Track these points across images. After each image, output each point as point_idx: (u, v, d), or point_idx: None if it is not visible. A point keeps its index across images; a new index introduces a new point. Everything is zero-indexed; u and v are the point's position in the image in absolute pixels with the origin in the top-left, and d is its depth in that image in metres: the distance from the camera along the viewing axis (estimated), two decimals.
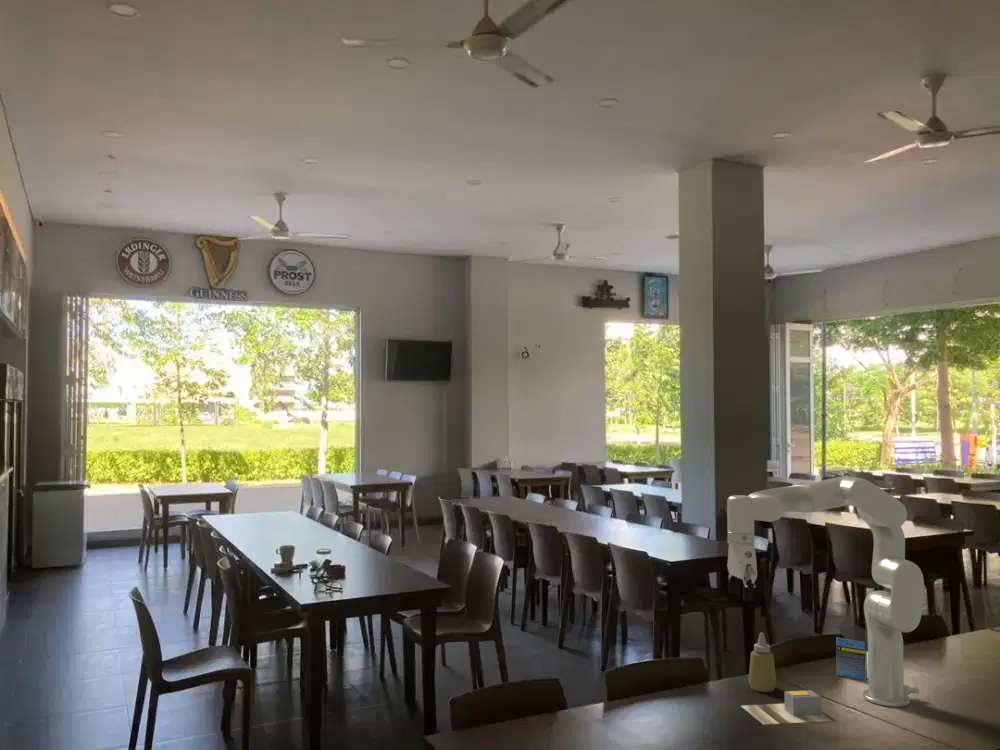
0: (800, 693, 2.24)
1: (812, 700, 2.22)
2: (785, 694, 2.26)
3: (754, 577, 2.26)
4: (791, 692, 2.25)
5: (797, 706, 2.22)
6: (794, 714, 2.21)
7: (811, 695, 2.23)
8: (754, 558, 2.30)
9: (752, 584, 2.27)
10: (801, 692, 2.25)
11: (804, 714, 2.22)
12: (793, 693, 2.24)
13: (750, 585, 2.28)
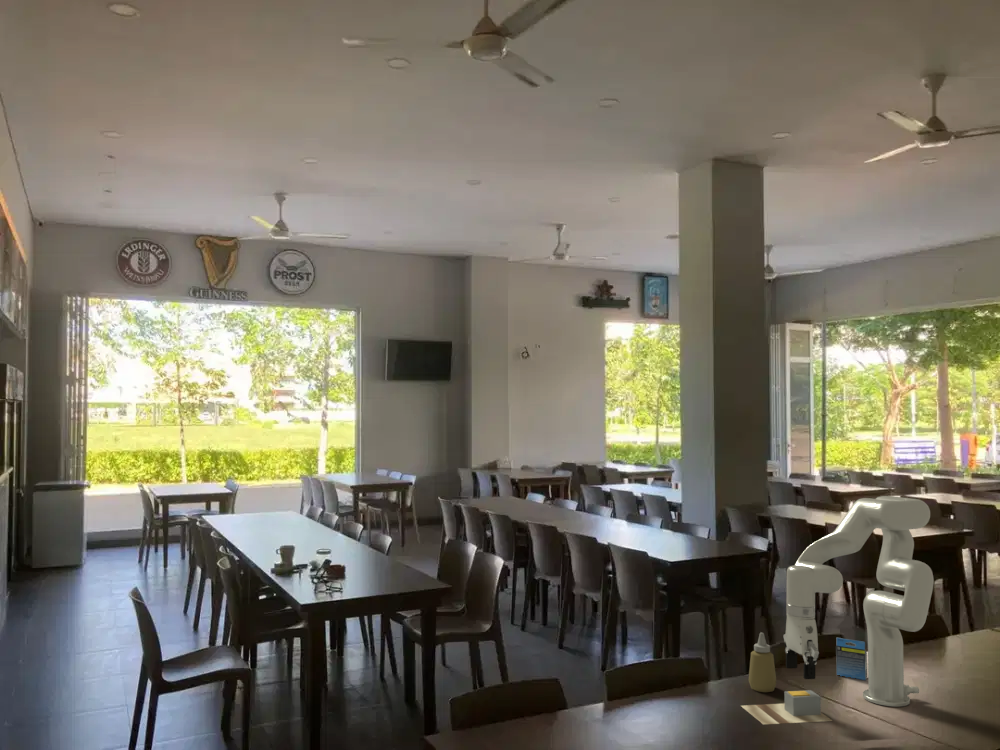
0: (800, 693, 2.24)
1: (812, 700, 2.22)
2: (785, 694, 2.26)
3: (816, 654, 2.17)
4: (791, 692, 2.25)
5: (797, 706, 2.22)
6: (794, 714, 2.21)
7: (811, 695, 2.23)
8: (815, 633, 2.21)
9: (813, 661, 2.18)
10: (801, 692, 2.25)
11: (804, 714, 2.22)
12: (793, 693, 2.24)
13: (811, 662, 2.18)
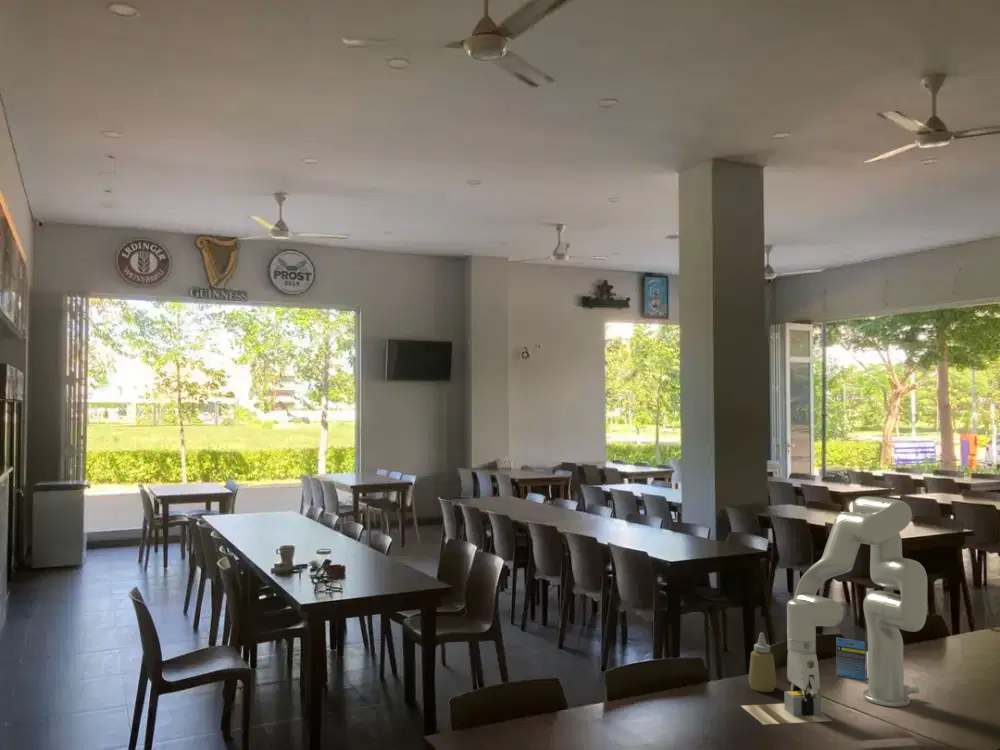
0: (800, 693, 2.24)
1: None
2: (785, 694, 2.26)
3: (815, 694, 2.18)
4: (791, 692, 2.25)
5: (797, 706, 2.22)
6: (794, 714, 2.21)
7: None
8: (816, 668, 2.21)
9: (811, 698, 2.20)
10: (801, 692, 2.25)
11: None
12: (793, 693, 2.24)
13: (809, 699, 2.20)
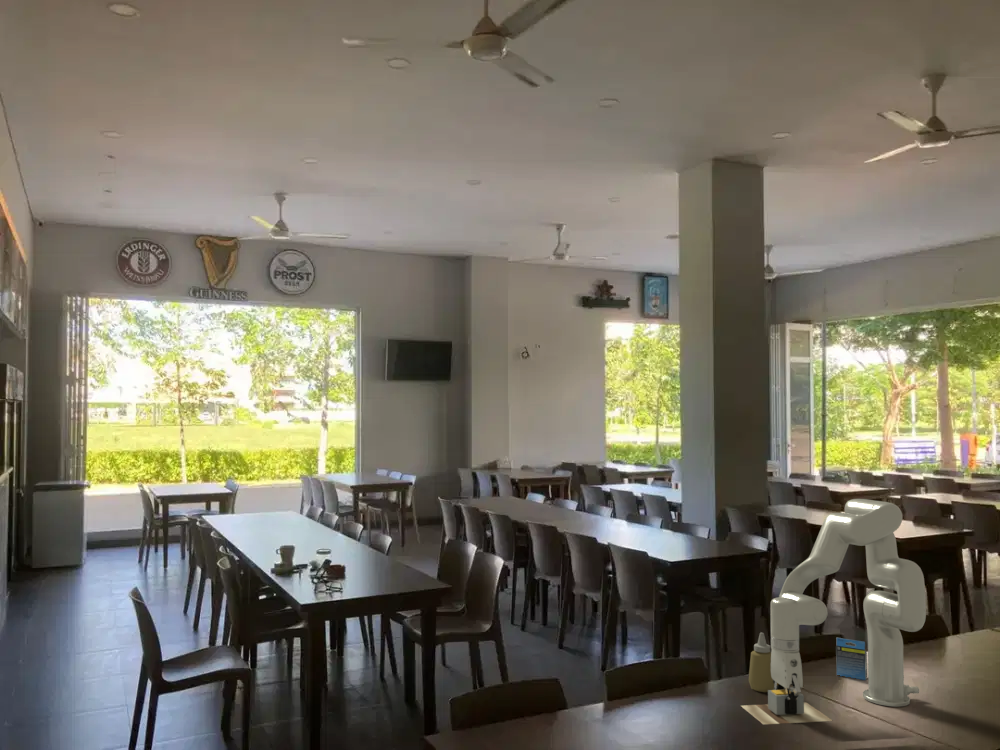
0: (783, 692, 2.23)
1: None
2: (768, 693, 2.25)
3: (798, 693, 2.17)
4: (774, 691, 2.24)
5: (780, 705, 2.21)
6: (777, 713, 2.21)
7: None
8: (800, 667, 2.20)
9: (794, 697, 2.19)
10: (784, 691, 2.24)
11: None
12: (776, 692, 2.23)
13: (792, 698, 2.19)
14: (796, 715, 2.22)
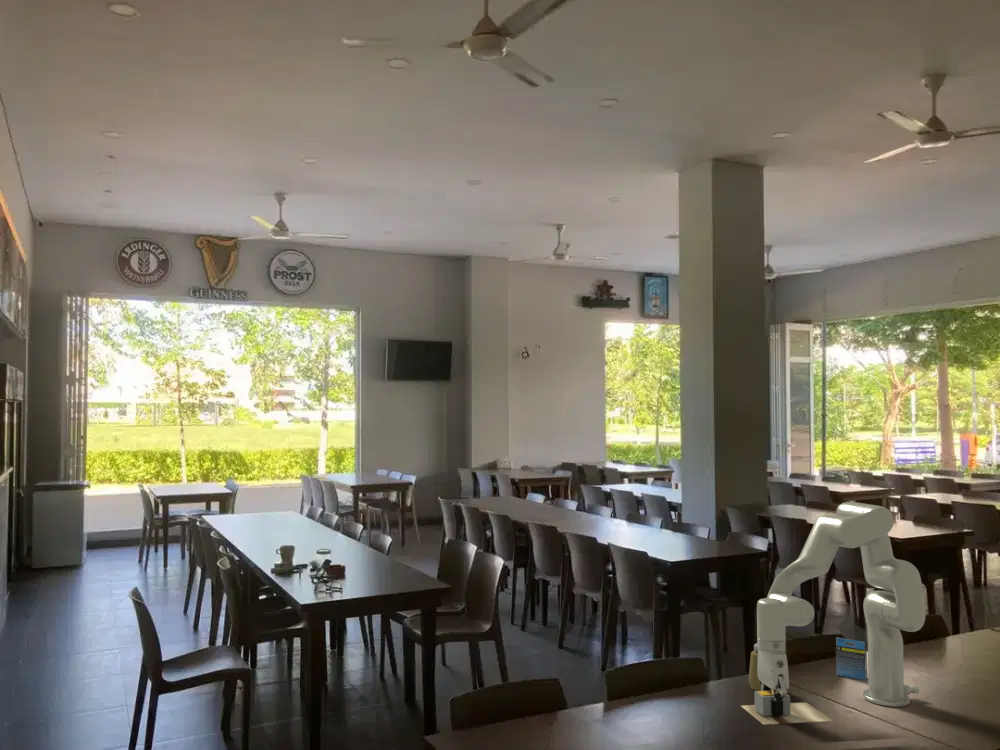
0: (770, 693, 2.23)
1: None
2: (755, 694, 2.25)
3: (784, 694, 2.17)
4: (761, 692, 2.24)
5: (766, 706, 2.20)
6: (763, 714, 2.20)
7: None
8: (786, 668, 2.19)
9: (781, 698, 2.19)
10: (771, 692, 2.24)
11: None
12: (763, 693, 2.23)
13: (779, 699, 2.19)
14: (796, 715, 2.22)
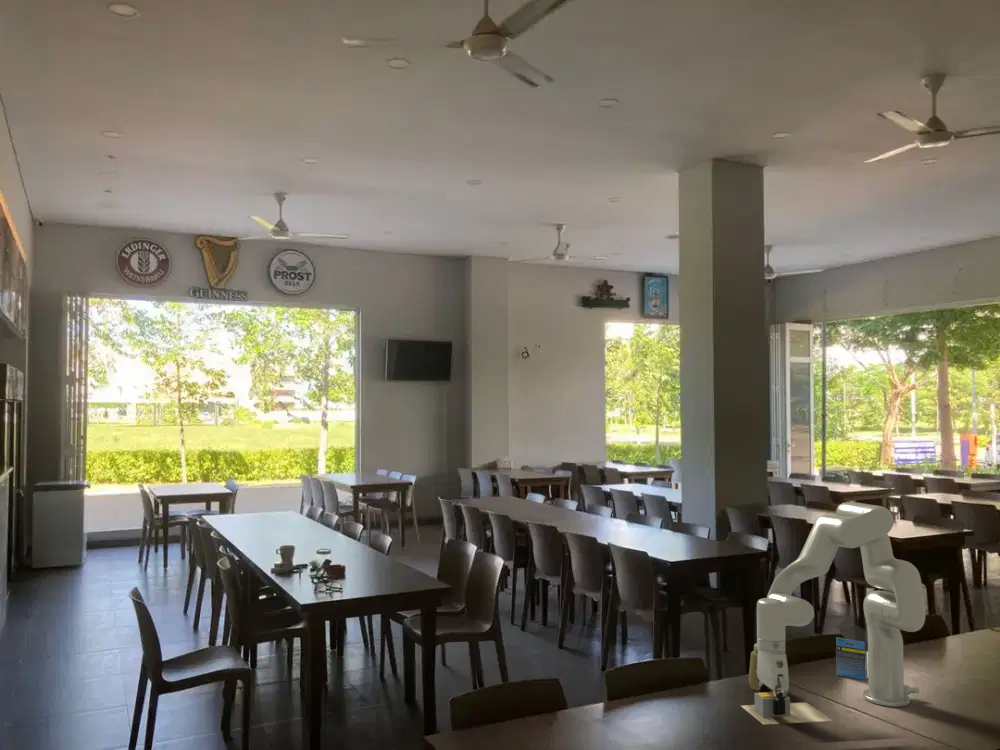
0: (770, 694, 2.23)
1: None
2: (755, 695, 2.25)
3: (785, 692, 2.16)
4: (761, 693, 2.24)
5: (766, 708, 2.20)
6: (763, 716, 2.20)
7: None
8: (786, 668, 2.19)
9: (783, 697, 2.17)
10: (771, 693, 2.24)
11: (774, 716, 2.21)
12: (763, 694, 2.23)
13: (781, 698, 2.18)
14: (796, 715, 2.22)
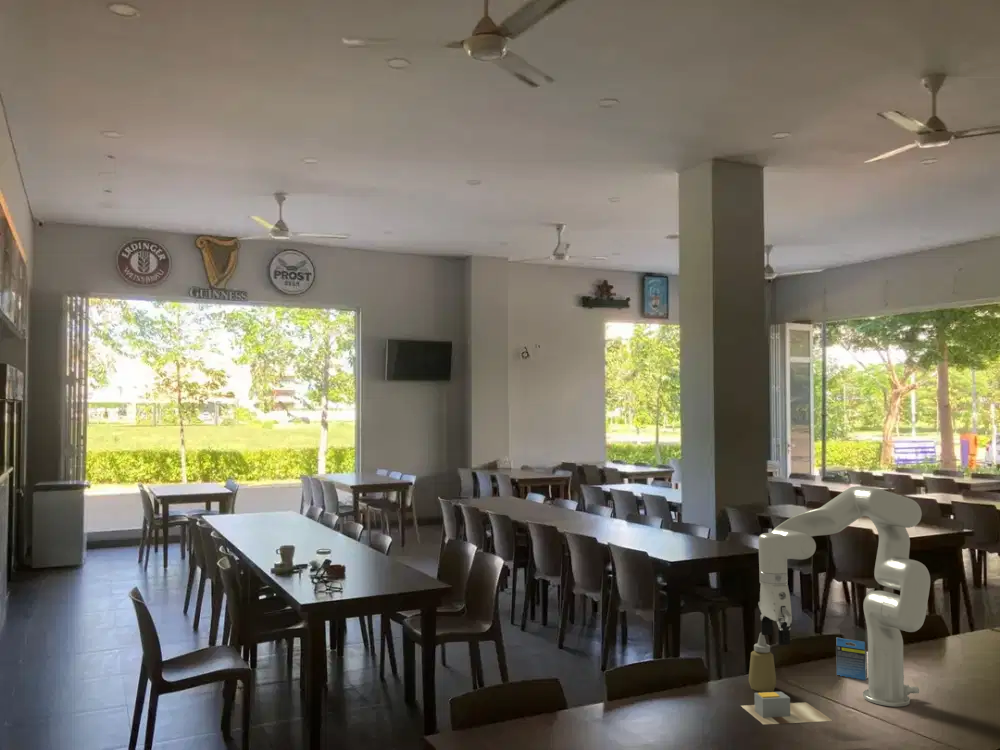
0: (770, 694, 2.23)
1: (782, 702, 2.21)
2: (755, 695, 2.25)
3: (789, 620, 2.18)
4: (761, 693, 2.24)
5: (766, 708, 2.20)
6: (763, 716, 2.20)
7: (781, 696, 2.22)
8: (788, 599, 2.22)
9: (787, 627, 2.19)
10: (771, 693, 2.24)
11: (774, 716, 2.21)
12: (763, 694, 2.23)
13: (785, 628, 2.20)
14: (796, 715, 2.22)
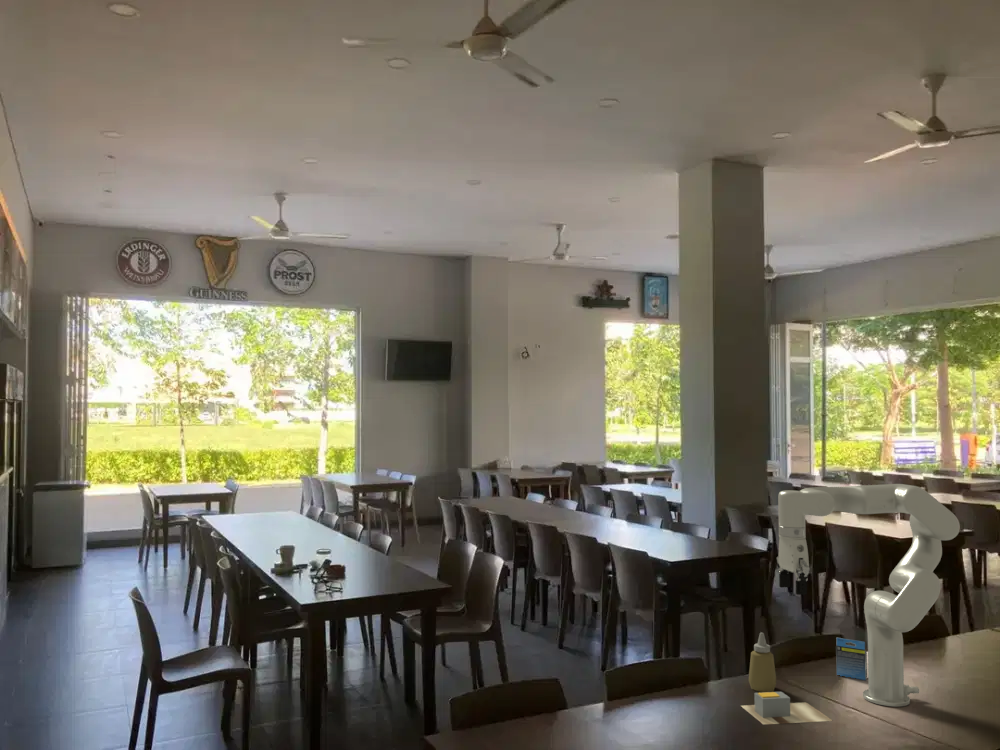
0: (770, 694, 2.23)
1: (782, 702, 2.21)
2: (755, 695, 2.25)
3: (807, 570, 2.30)
4: (761, 693, 2.24)
5: (766, 708, 2.20)
6: (763, 716, 2.20)
7: (781, 696, 2.22)
8: (806, 552, 2.34)
9: (805, 577, 2.32)
10: (771, 693, 2.24)
11: (774, 716, 2.21)
12: (763, 694, 2.23)
13: (803, 578, 2.32)
14: (796, 715, 2.22)
